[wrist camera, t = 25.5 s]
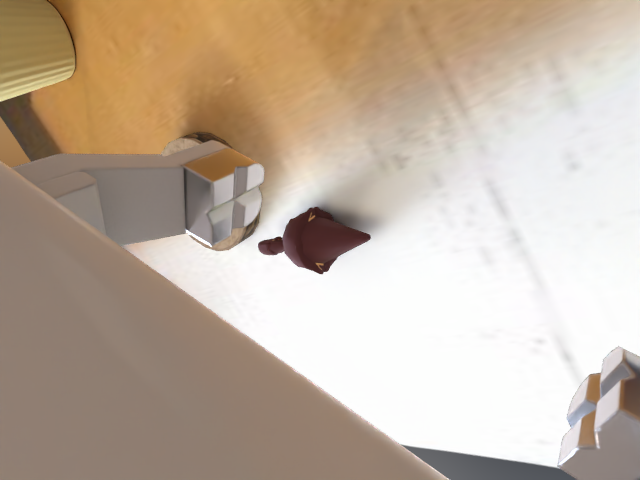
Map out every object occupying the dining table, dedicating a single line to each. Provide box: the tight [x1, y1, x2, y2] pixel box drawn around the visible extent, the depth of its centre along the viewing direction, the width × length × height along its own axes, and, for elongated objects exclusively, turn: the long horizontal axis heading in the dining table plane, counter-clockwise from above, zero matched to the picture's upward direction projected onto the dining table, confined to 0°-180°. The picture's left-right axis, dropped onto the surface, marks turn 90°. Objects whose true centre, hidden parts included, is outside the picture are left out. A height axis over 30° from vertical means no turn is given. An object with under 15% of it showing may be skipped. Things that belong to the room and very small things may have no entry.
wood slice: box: [161, 132, 260, 251], centre depth 57 cm, size 16×16×3 cm
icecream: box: [258, 207, 371, 274], centre depth 47 cm, size 7×7×15 cm
